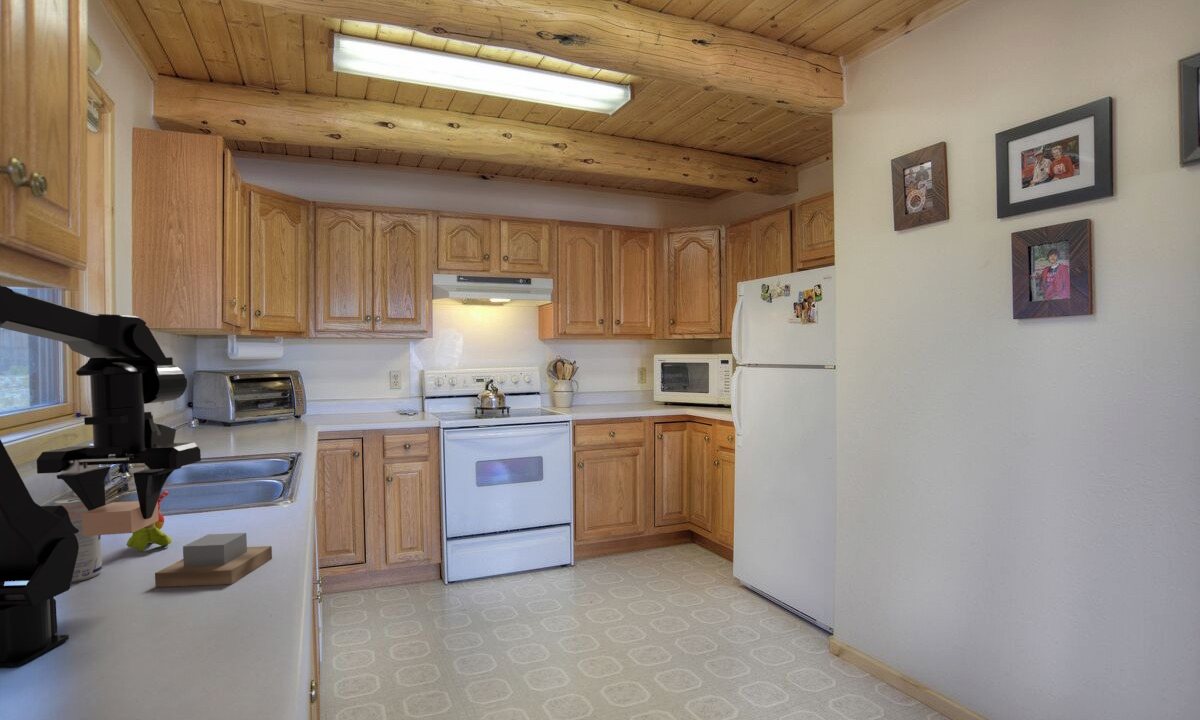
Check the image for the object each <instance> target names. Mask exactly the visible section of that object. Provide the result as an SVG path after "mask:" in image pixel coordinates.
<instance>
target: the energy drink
mask: <svg viewBox="0 0 1200 720" xmlns="http://www.w3.org/2000/svg"><path fill="white" fill-rule="evenodd" d="M58 505H62V506H63V507H64V508H65V509H66V510H67V511H68V514H69V517H70V520H71V523H72V524H73V526H74V527H75V528H77V529H78V530H79V532H78V533H75V536H76V537H77V540H78V544H79V550H78V556H77V560H76V564H75V568H74V572H73V577H72V581H71V584H72V583H77V582H78V583H79V582H81V581H86V580H87V581H88V580H89V579H93V578H95V577H97V576H99V575H100V574H101V573H102V571H103V563H102V543H101V541H102V540H101V535H94V536H83V529H82V513H85V512H88V509H87V508H86V507H85V505H84V504H83V503H82V501H81V500H80V499H79V497H78V496H77V495H76V496H71V497H67V498H62V499H59V500H55V501H54V505H53V506H58Z"/></svg>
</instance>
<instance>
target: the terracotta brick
mask: <svg viewBox="0 0 1200 720" xmlns="http://www.w3.org/2000/svg"><path fill="white" fill-rule="evenodd" d="M157 521H159V516H158V501H157V504H156V507H155V510H154V512H153V515H152V517H151V518H149V519H144V518H143V516H142V513H141V510H140V505H139V500H135V501H133V500H132V501H131V500H130V501H118V502H110V503H107V504H105V505H104V506H102V507H99V508H96V509H93V510H91V511H88V512H85V513H82V529H83V536H94V535H100V536H105V535H106V536H107V535H121V534H133V532H135V531H137V530H139V529H142V528H144V527H146V526H148V525H150V524H153V523H155V522H157Z"/></svg>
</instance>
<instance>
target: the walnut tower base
mask: <svg viewBox="0 0 1200 720" xmlns="http://www.w3.org/2000/svg"><path fill="white" fill-rule="evenodd" d="M272 550H273V548H272V545H269V546H268V545H266V546H265V545H263V546H247V552H246V553H244V554H242V555H241V556H239V557H237V558H235V559H234V560H232V561H230V562H229V563H227V564H225V565H209V566H186V567H184V560H183V559H181V560H178V561H176V562H174V563H172V564H171V565H169V566H166V567H164V568H163V569H161V570H158V571H157V572H154V579H155V580H154V582H155V584H154V585H155V588H163V587H165V588H166V587H167V588H168V587H187V586H188V587H190V586H191V587H192V586H193V587H194V586H215V585H233V584H234V583H236V582H237V581H239V580H241V579H242V578H243V577H245V576H247V575H248V574H250V573H252V572H254V570H256V569H258V568H259V567H261V566H263V565H264V564H266V563H267V562H269V561H270V560H271V559H273V551H272Z"/></svg>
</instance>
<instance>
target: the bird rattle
mask: <svg viewBox="0 0 1200 720" xmlns="http://www.w3.org/2000/svg"><path fill="white" fill-rule="evenodd" d="M168 495H169V491H168V490H167V489H166V490H164V491H163V492H161V493H160V496H159V499H158V516H159V521H157V522H155V523H153V524H150V525H148V526H146V527H144V528H142V529H139V530H137V531H135V532H133V533H132V535H131V536H130V537H129V538H128V540H127V541H126V542H127V543H126V544H125V545H126V546H127V547H128V548H131V549H132V548H136V549H137V551H138V552H142V551H143V550H144V549H145V548H146V547H147V546H148V544H155V545H159V546H162V547H165V545H166V546H169V545H170V544H171V543H172V538H171V537H170V536H169V535H167V534H166V533H165V532H163V531H162V528H163V527H164V524H165V517H164V515H163V514H162V513H161V503H162V501H163V499H164V498H165V497H167V496H168Z"/></svg>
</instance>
